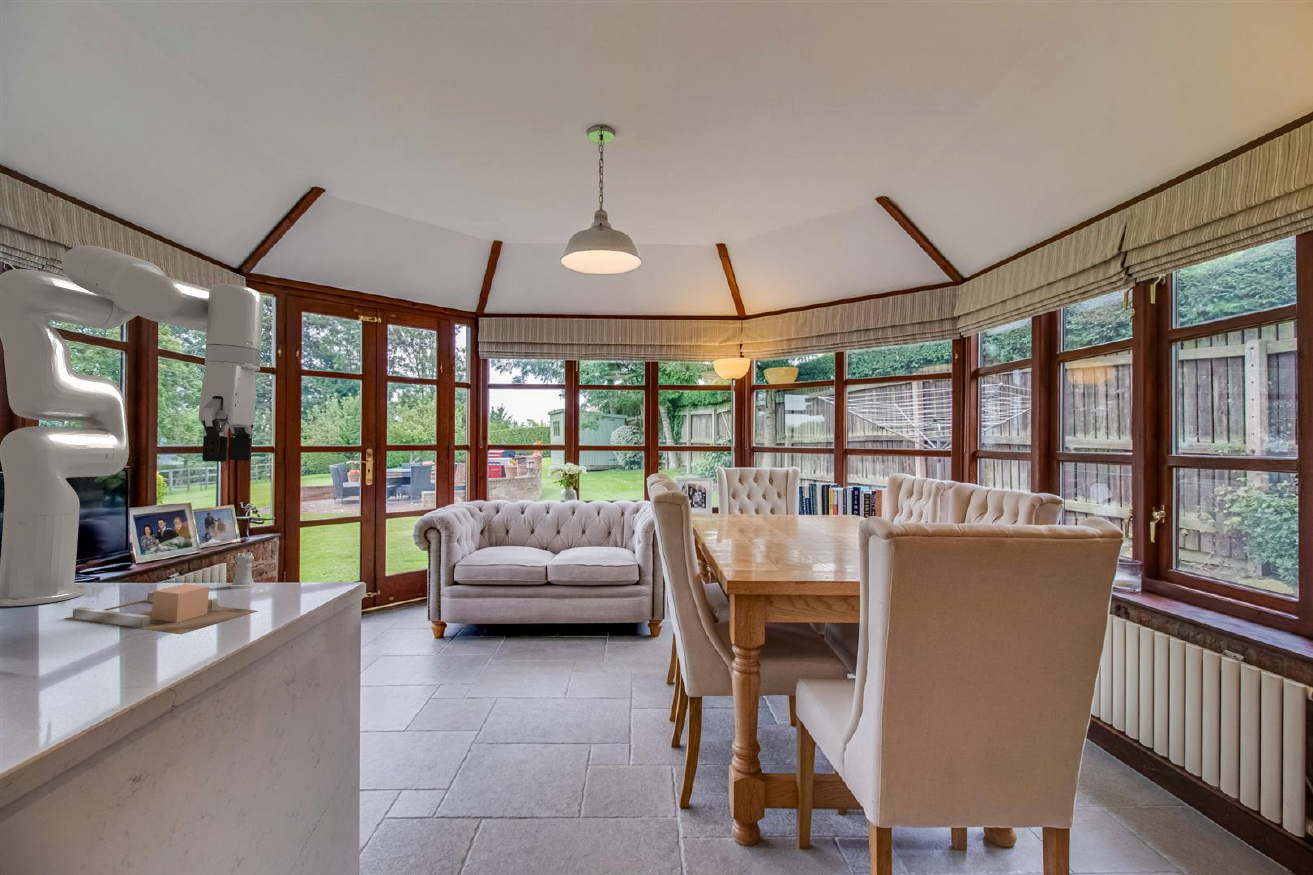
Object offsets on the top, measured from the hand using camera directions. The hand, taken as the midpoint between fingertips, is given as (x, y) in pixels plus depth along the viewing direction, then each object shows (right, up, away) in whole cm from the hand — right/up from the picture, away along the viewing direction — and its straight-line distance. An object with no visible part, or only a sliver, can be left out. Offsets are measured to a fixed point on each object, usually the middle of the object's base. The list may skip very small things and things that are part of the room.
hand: (227, 460), depth 96 cm
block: (-6, -25, -3) cm, 26 cm away
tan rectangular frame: (-9, -27, -2) cm, 28 cm away
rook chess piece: (-10, -28, +18) cm, 34 cm away
